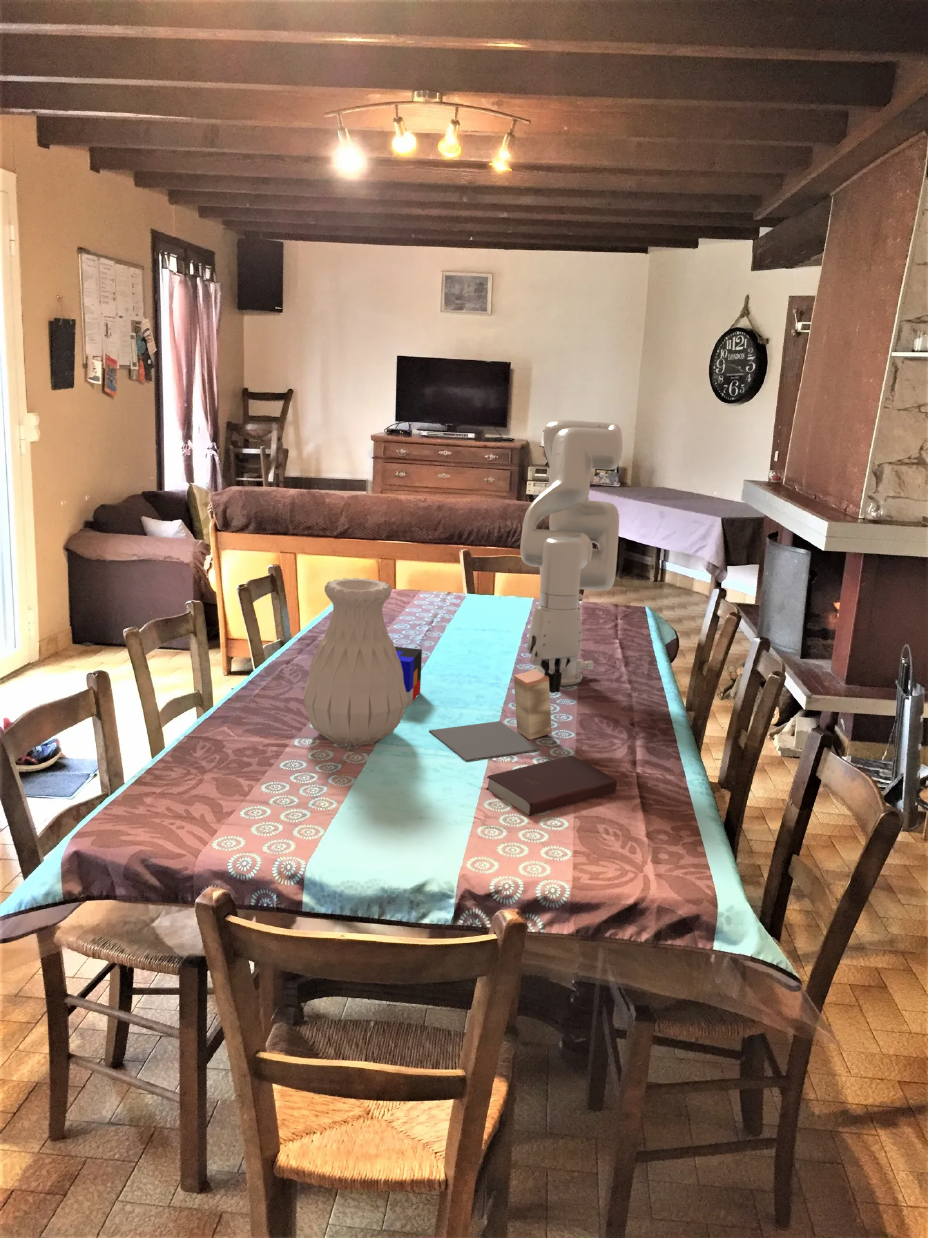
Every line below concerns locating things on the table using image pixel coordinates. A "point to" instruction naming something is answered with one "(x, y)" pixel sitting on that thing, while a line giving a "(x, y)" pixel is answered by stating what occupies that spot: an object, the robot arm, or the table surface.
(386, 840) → the table surface
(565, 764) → the book
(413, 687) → the puzzle toy
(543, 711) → the tall block
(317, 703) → the vase
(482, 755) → the mat
